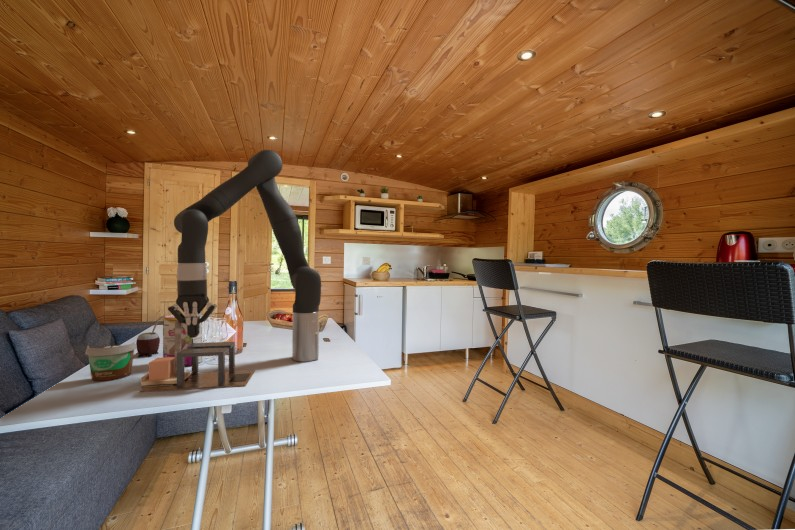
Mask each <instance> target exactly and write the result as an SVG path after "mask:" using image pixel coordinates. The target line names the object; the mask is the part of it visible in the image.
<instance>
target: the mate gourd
mask: <svg viewBox="0 0 795 530" xmlns="http://www.w3.org/2000/svg"><path fill="white" fill-rule="evenodd" d="M165 316H166V315H165V314H163V315H162V316H161V317H160V316H159V318H157V320H156V321H155V323H154V326H153V329H152V331H150V332H143V333H139V335H138V336H137V338H136V342H135V344H136V347H137V348H136V351H137V354H138V355H137V357H138V358H141V357H149V358H151V357H153V356H154V355H158V354H159V349H160V344H161V343H160V342H161V338H160V335H159V334H158V333H157V332H155V330H156V328H157V325H158V323H159V322H160V320H161V319H163V317H165Z"/></svg>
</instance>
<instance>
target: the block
mask: <svg viewBox="0 0 795 530" xmlns="http://www.w3.org/2000/svg"><path fill="white" fill-rule="evenodd" d="M148 373H149V380H165V379H170V378H171V377H172V376H174V375H175V357H163V356H162V357H157V358H155V359H153V360H152V361H150V362H148Z"/></svg>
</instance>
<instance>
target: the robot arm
mask: <svg viewBox="0 0 795 530" xmlns="http://www.w3.org/2000/svg"><path fill="white" fill-rule="evenodd" d="M282 169H283V160H282V157H281V156H280V154H278V153H277V152H276V151H274V150H271V149H263V150H260V151H258V152H257V153H256V154H254V155H252V156H251V157H250V158H249V160H248V162H247V166H246V167H245V168H244V169H242V170H241V171H239V173H237V174H236V175H234V176H232V177H231V178H228V179H227V180H225V181H224V182H222V183H221V184H219V185H217V186H216V187H214V189H212V190H211V191H209V192H208V193H206V194H205V195H204V196H203V197H202V198H201V199H198V201H196V202H194V203H193V204H190V205H189V206H188V207H186V208H184V209H183V210H181V211H180V212H179V213H177V214H176V216H175V217H174V220H173V226H174V228H175V230H176V231H177V232H179V233H180V234H181V241H180V244H179V245H178V247H177V268H176V285H177V289H176V290H177V291H176V292H177V298H176V300H175V303H174V304H172V305H171V306H168V307H167V310H168V311H169V312H170V314H171V315H173V316H174V317H175V318H176V319H177V320H178V321H179V322H180V323H184V324H186V325H187V334H188V336H189V337H190V338H195V337H197V336H198V335H199V333H200V326H199V324H200V323H202V324H203V323H204V322H205V321H207V320H208V319H209V317H210V316H211V315H212V314H213V313H214V311H215V310H216V309H217V308H218V307H217V304H215V303H214V304H213V303H212V302H211V301H210V298H209V296H208V279H207V277H208V276H207V273H208V272H207V266H206V265H207V263H206V245H207V240H208V234H209V222H210V221H211V220H213V219H215V218H218V217H220V216H221V215H223V214H225V213H226V212H227V211H228V210H230V209H231V208H232V207H234V205H236V204H237V203H238V202H239V201H240V200H241V199H243V198H244V197H245V196H246V195H247V194H249V192H251V191H253V190H254V189H255V188H256V190H257V192H258V194H259V196H260V199H261V202H262V204H263V207H264V211H265V213H266V215H267V217H268V222H269V224H270V227H271V230H272V232H273V235H274V237H275V239H276V242H277V245H278V247H279V249H280V251H281V253H282V256H283V258H284V260H285V264H286V267H287V272H288V275H289V276H288V277H289V280H290V283H291V286H292V287H293V289H294V291H295V294H294V296H295V297H294V303H293V304H292V340H291V341H292V348H291V349H292V360H293V361H295V362H312V361H316V360H319V353H320V352H319V351H320V350H319V349H320V348H319V347H320V346H319V342H320V341H319V337H320V336H319V335H320V334H319V333H320V331H319V323H320V322H319V319H320V318H319V317H320V315H319V314H320V313H319V310H320V309H319V308H320V307H319V306H320V305H321V300H322V297H321V296H322V279H321V275H320V273H319V272H318V271H317V270H316V269H314V268H311V267H310V265H309V263H308V261H307V258H306V256H305V252H304V247H303V246H304V245H303V236H302V230H301V227H300V223H299V221H298V218H297V216H296V215H297V214H296V213H295V211H294V209H293V208H292V207H291V205H290V204H289V203H288V202H287V200H286V199H284V197H283V196H282V194H281V192H280V190H279V188H278V184H277V181H276V177H277V176H279V174H280V173H281V171H282ZM180 309H181V311H180ZM204 309H206V311H205V312H204V313H203V315H202V312H203V310H204ZM182 312H183V313H182ZM184 315H185V316H184ZM200 316H202V317H201V318H200Z"/></svg>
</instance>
